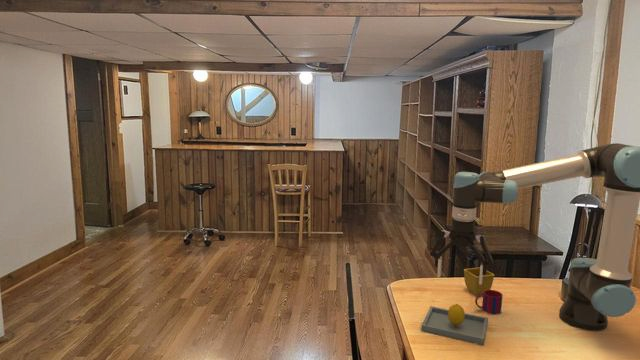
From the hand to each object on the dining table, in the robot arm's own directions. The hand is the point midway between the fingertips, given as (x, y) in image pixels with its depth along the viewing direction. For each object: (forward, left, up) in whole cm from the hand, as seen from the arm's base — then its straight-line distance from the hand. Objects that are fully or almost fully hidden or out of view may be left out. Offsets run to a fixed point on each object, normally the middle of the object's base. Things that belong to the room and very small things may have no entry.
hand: (459, 279), depth 153 cm
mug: (-9, -19, -18) cm, 27 cm away
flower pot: (-4, -34, -18) cm, 39 cm away
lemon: (0, 0, -17) cm, 17 cm away
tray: (0, 0, -18) cm, 18 cm away
